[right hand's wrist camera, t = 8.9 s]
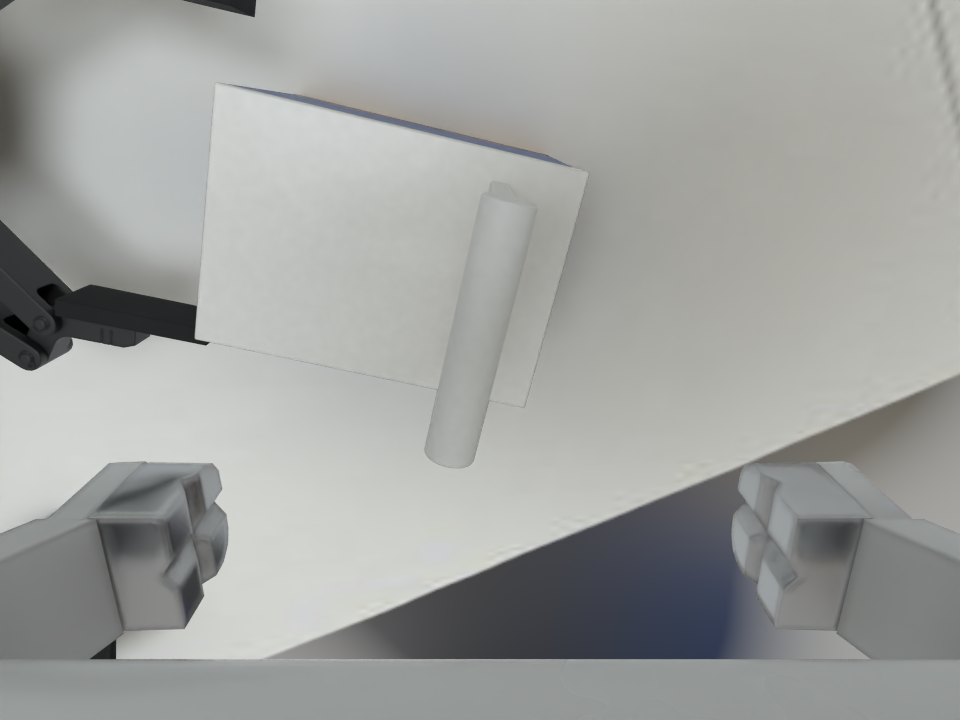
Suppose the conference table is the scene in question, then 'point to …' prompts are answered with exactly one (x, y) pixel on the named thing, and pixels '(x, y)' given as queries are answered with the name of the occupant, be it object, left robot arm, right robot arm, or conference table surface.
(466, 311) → the lid
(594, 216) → the conference table surface
